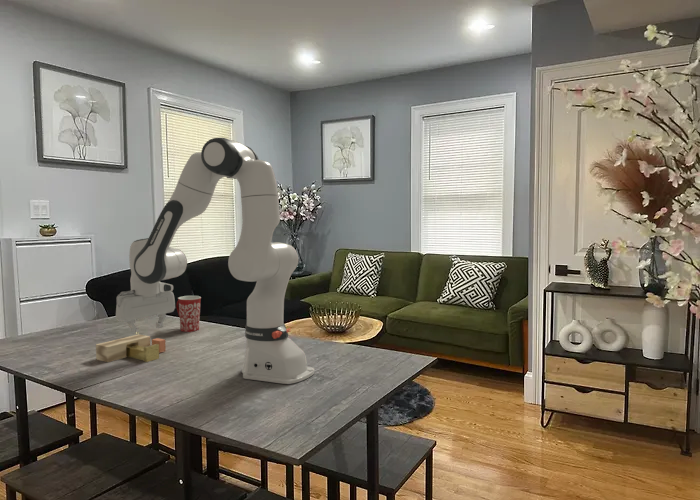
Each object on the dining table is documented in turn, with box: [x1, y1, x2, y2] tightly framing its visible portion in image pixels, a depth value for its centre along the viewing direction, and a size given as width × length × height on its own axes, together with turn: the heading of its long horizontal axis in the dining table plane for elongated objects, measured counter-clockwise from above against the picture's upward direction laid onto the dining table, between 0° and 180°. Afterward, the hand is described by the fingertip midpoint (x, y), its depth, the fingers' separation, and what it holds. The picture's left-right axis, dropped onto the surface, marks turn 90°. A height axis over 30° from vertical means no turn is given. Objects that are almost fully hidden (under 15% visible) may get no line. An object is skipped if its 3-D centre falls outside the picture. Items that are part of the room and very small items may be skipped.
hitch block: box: [95, 333, 151, 363], centre depth 165 cm, size 6×16×5 cm, turn 150°
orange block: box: [151, 337, 167, 354], centre depth 169 cm, size 4×2×4 cm, turn 60°
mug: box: [176, 295, 202, 333], centre depth 202 cm, size 13×9×14 cm
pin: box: [126, 344, 160, 363], centre depth 163 cm, size 15×5×5 cm, turn 60°
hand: (147, 330), depth 159 cm, fingers open, 8 cm apart
